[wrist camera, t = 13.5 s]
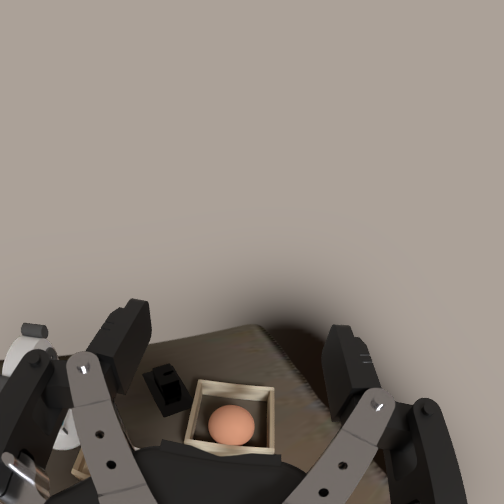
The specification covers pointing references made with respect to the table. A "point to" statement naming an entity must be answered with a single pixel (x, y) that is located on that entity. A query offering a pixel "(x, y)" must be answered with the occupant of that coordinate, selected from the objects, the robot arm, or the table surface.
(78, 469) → the tee
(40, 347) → the panda figurine
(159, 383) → the black slotted stand
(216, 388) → the corral
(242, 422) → the ball
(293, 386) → the table surface
